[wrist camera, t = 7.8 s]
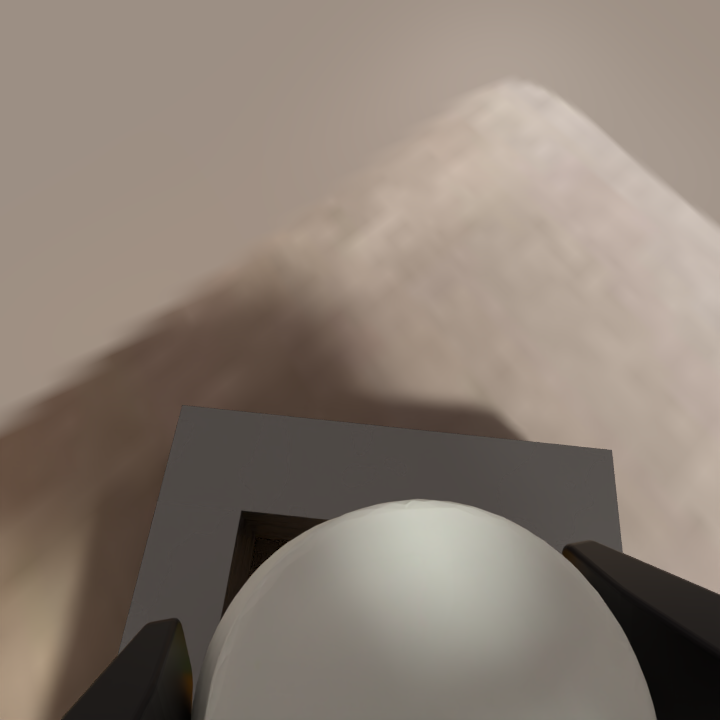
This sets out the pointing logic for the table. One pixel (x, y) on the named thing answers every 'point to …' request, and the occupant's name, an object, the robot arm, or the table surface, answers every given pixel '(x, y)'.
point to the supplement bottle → (419, 627)
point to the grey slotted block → (336, 498)
